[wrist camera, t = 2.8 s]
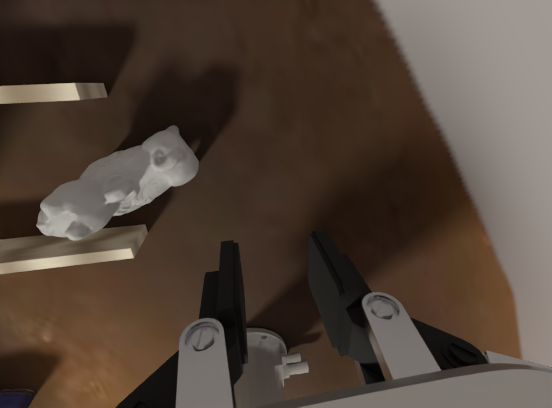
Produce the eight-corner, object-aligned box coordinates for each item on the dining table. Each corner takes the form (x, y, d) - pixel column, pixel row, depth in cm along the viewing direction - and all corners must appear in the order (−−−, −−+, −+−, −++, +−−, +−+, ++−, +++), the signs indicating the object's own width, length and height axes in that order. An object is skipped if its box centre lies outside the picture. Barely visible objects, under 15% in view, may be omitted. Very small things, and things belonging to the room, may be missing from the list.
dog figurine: (76, 170, 27) (-10, 218, 18) (183, 114, 26) (154, 132, 17) (111, 210, 30) (52, 271, 20) (210, 160, 29) (199, 198, 19)
